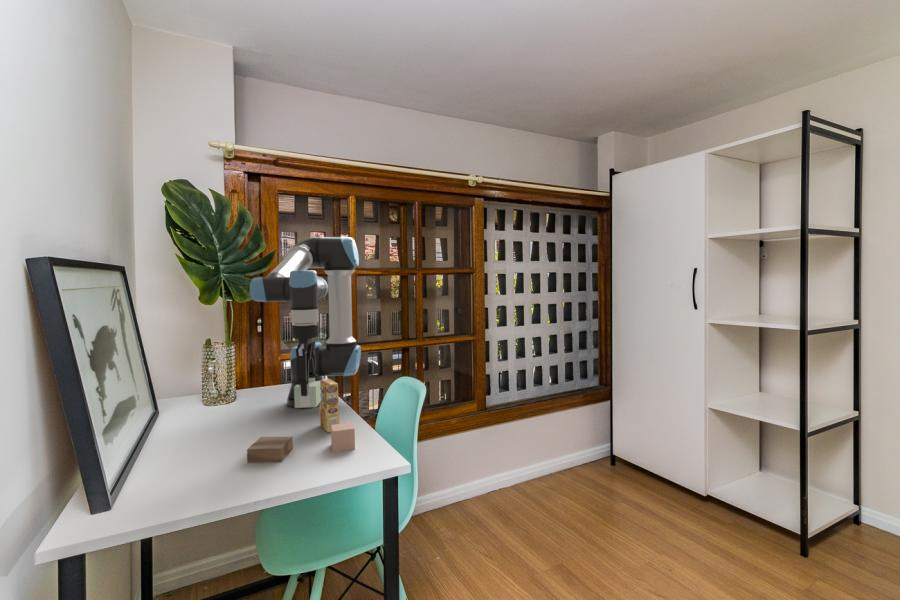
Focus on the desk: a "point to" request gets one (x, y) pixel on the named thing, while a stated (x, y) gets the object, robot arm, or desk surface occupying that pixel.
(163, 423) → the desk surface
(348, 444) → the terracotta cube
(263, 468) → the desk surface
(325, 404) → the candy box
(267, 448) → the walnut plinth
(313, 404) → the green cube
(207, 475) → the desk surface
